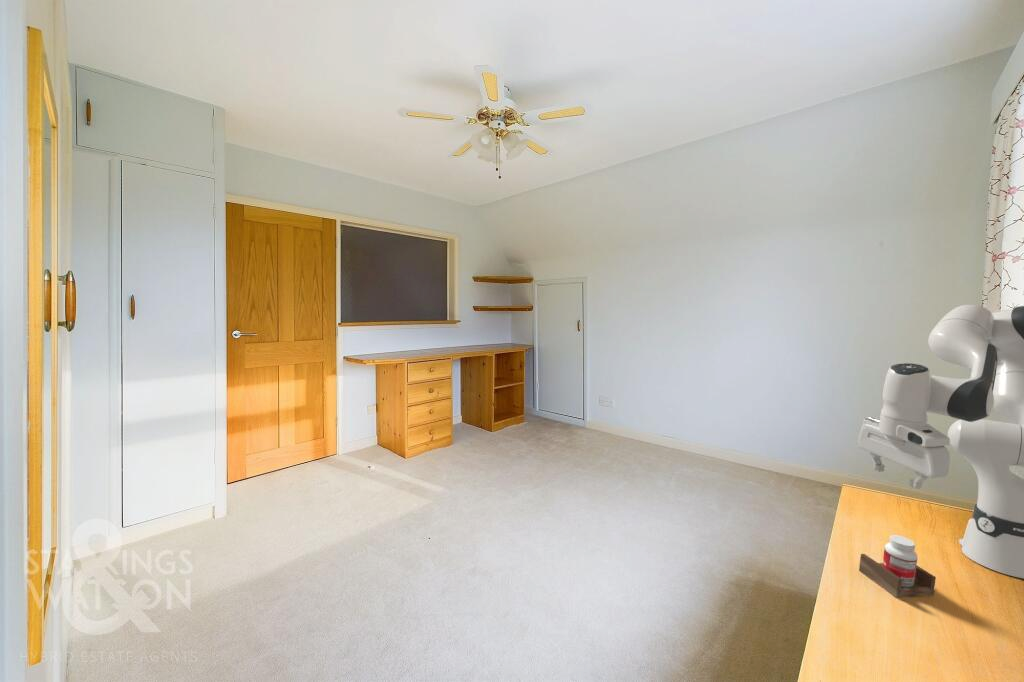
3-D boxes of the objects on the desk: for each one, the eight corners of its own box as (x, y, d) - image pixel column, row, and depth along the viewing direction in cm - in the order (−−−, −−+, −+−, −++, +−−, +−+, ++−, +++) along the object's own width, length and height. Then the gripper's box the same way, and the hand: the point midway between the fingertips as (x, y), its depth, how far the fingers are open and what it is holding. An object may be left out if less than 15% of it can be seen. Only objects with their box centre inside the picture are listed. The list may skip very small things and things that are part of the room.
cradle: (893, 568, 113) (895, 551, 113) (933, 595, 103) (935, 577, 103) (858, 570, 112) (860, 553, 112) (896, 597, 103) (898, 579, 102)
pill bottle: (885, 569, 112) (891, 530, 110) (916, 583, 107) (922, 542, 105) (877, 578, 108) (882, 537, 107) (908, 592, 103) (914, 550, 102)
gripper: (853, 415, 118) (849, 462, 120) (934, 443, 97) (927, 499, 99) (874, 414, 118) (869, 460, 120) (958, 441, 98) (950, 497, 100)
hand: (896, 478), depth 110 cm, fingers open, 8 cm apart
